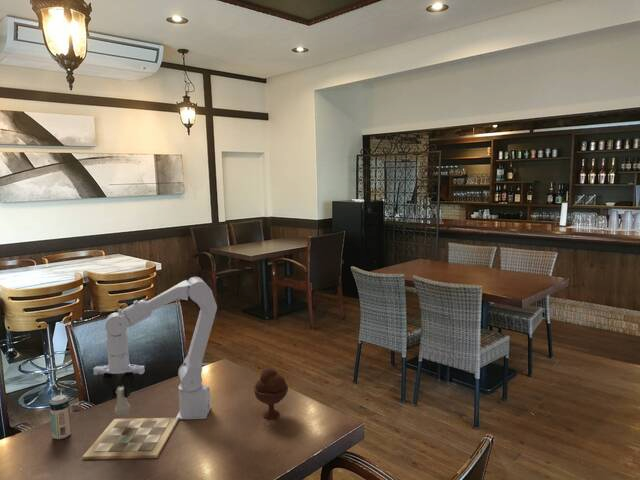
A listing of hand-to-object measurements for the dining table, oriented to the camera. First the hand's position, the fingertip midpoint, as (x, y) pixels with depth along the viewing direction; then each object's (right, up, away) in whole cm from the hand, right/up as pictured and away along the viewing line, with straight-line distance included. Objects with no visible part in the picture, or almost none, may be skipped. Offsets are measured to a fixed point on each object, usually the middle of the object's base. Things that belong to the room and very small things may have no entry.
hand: (120, 396), depth 137 cm
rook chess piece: (0, -5, +1) cm, 6 cm away
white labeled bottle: (-16, -11, -3) cm, 20 cm away
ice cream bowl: (+45, -9, +8) cm, 46 cm away
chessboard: (+6, -11, -5) cm, 13 cm away
